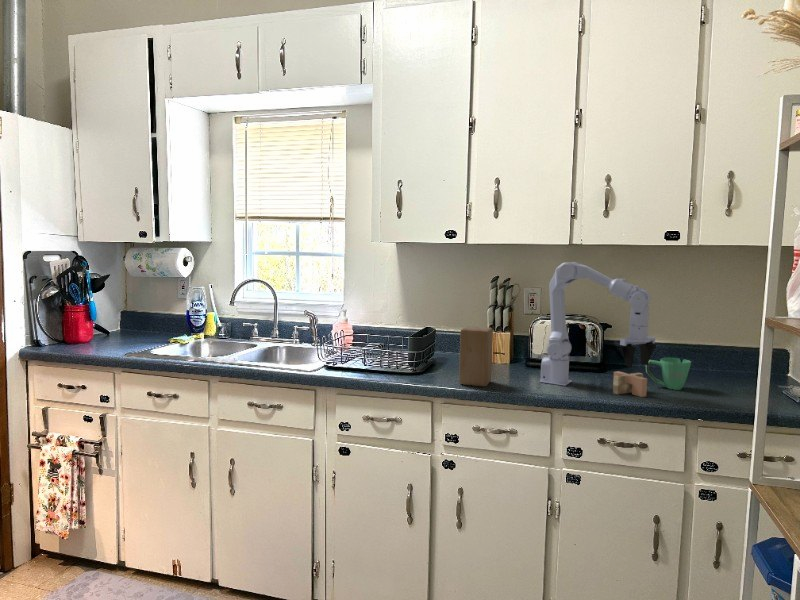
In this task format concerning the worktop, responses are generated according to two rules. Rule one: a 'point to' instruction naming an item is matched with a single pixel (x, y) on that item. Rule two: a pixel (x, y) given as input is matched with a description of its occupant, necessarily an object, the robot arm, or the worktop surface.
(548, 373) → the robot arm
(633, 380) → the tan flat notched board
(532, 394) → the worktop surface
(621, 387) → the tan notched block
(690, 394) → the worktop surface
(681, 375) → the mug
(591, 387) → the worktop surface
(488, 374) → the wooden block
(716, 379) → the worktop surface
